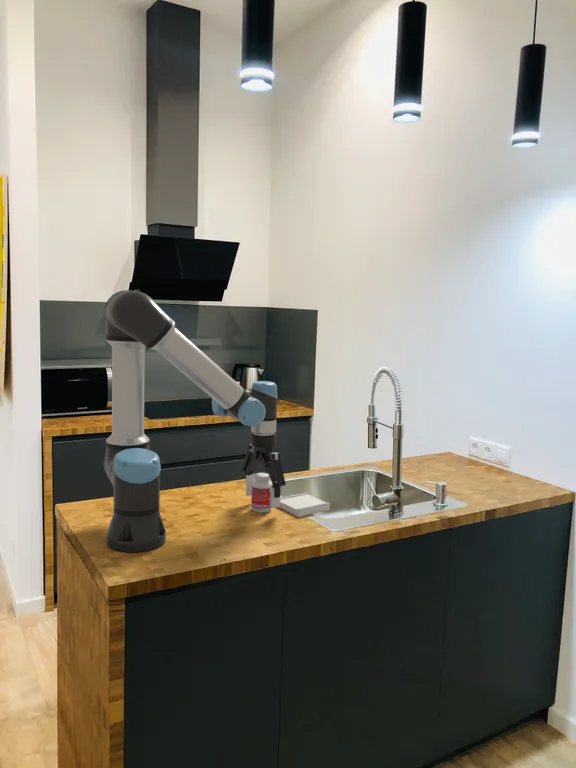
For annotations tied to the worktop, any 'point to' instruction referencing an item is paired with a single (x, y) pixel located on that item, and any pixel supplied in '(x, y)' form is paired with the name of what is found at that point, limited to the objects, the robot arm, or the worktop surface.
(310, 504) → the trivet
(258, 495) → the pill bottle
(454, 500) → the worktop surface
